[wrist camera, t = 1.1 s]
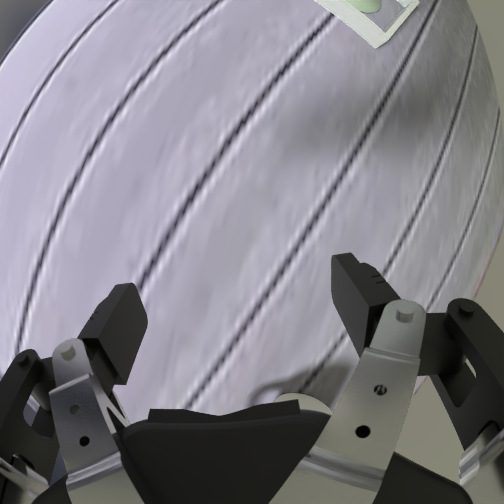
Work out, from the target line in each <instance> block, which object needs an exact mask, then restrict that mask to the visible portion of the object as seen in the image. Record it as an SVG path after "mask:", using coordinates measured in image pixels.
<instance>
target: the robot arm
mask: <svg viewBox="0 0 504 504" xmlns="http://www.w3.org/2000/svg"><path fill="white" fill-rule="evenodd" d="M331 292H332V299H333V303H334V305H335V307H336V309H337V311H338V313H339V315H340V317H341V319H342V322H343V324H344V326H345V328H346V330H347V332H348V334H349V336H350V338H351V340H352V342H353V345H354V347H355V349H356V351H357V353H358V355H359V358H360V360H359V362H358V365H357V367H356V369H355V371H354V373H353V375H352V377H351V379H350V381H349V383H348V385H347V387H346V389H345V391H344V393H343V395H342V397H341V399H340V401H339V403H338V405H337V407H336V408H335V410H334V412H333V414H332V415H330V414H327V413H323V412H319V411H314V410H306V409H300V406H299V401H298V399H295V400H288V401H282V402H275V403H267V404H259V405H256V406H253V407H250V408H247V409H244V410H240V411H237V412H233V413H230V414H226V415H222V416H216V415H210V414H205V413H199V412H194V411H189V410H184V409H150V411H149V415H148V419H146V420H142V421H139V422H136V423H134V424H131V423H130V421H129V420H128V418H127V416H126V414H125V412H124V410H123V408H122V406H121V404H120V402H119V399H118V397H117V395H116V393H115V392H114V390H113V386H114V385H126V383H127V381H128V378H129V375H130V372H131V369H132V366H133V364H134V361H135V358H136V355H137V353H138V350H139V347H140V345H141V342H142V339H143V337H144V334H145V332H146V329H147V325H148V320H147V314H146V311H145V309H144V306H143V304H142V301H141V299H140V296H139V293H138V291H137V288H136V286H135V284H134V283H125V284H117V285H115V286H114V288H113V289H112V291H111V292H110V294H109V295H108V297H107V298H105V299H104V300H103V301H102V302H101V303H100V304H99V305H98V306H97V308H96V309H95V311H94V313H93V314H92V315H91V317H90V320H88V321H87V323H86V325H85V326H84V328H83V329H82V331H81V333H80V334H79V336H78V337H77V339H76V338H73V339H69V340H66V341H64V342H62V343H61V344H60V345H58V346H57V347H56V349H55V350H54V352H53V354H52V357H49V358H45V359H40V357H39V356H38V354H37V352H36V351H35V350H33V349H27V350H24V351H22V352H21V353H19V354H18V355H17V356H16V357H15V358H14V360H13V361H12V363H11V365H10V366H9V368H8V369H7V371H6V373H5V374H4V376H3V378H2V380H1V381H0V504H504V333H503V331H502V330H501V329H500V328H499V327H498V326H497V324H496V323H495V322H494V321H493V320H492V319H491V317H490V316H489V315H488V314H487V313H486V312H485V311H484V310H483V309H482V307H481V306H479V305H478V304H477V303H476V302H474V301H472V300H469V299H464V298H458V299H454V300H452V301H451V302H450V303H449V304H448V307H447V311H446V313H426V312H425V310H424V308H423V307H422V306H421V305H420V304H418V303H416V302H414V301H411V300H405V299H401V298H400V297H399V296H398V294H397V293H396V292H395V291H394V290H393V288H392V287H391V286H390V285H389V284H388V282H386V280H385V279H384V278H383V277H382V276H381V274H380V273H379V272H378V271H377V270H376V268H374V267H373V266H371V265H369V264H367V263H359V261H358V260H357V259H356V258H355V256H354V255H353V254H352V253H344V254H337V255H333V256H332V259H331ZM466 359H468V360H469V362H470V363H471V365H472V366H473V368H474V370H475V372H476V378H475V376H474V374H473V373H472V371H471V370H470V368H469V367H468V365H467V364H466V362H465V361H466ZM426 375H429V376H430V378H431V380H432V382H433V384H434V386H435V388H436V390H437V392H438V394H439V396H440V398H441V400H442V402H443V404H444V406H445V408H446V410H447V412H448V414H449V417H450V419H451V421H452V423H453V425H454V427H455V430H456V432H457V434H458V437H459V439H460V441H461V444H462V446H463V448H464V453H463V454H462V457H461V459H460V465H459V469H460V472H459V477H460V479H461V480H460V484H457V483H456V482H454V481H451V480H449V479H447V478H445V477H443V476H440V475H439V474H436V473H435V472H432V471H430V470H428V469H426V468H424V467H423V466H420V465H419V464H417V463H415V462H413V461H411V460H409V459H407V458H405V457H404V456H402V455H400V454H398V453H396V452H395V451H394V449H395V447H396V444H397V441H398V439H399V436H400V433H401V430H402V427H403V424H404V421H405V418H406V415H407V412H408V408H409V405H410V401H411V398H412V394H413V391H414V387H415V383H416V379H417V376H426ZM30 395H32V396H33V398H34V399H35V400H36V401H37V402H38V403H39V405H40V407H39V409H38V412H37V414H36V416H35V419H34V421H33V424H32V426H31V427H30V426H29V425H28V424H27V423H26V421H25V419H24V416H23V410H24V407H25V405H26V403H27V401H28V399H29V397H30ZM59 448H60V449H61V452H62V456H63V459H64V463H65V466H66V469H67V472H68V473H67V474H66V475H65V476H63V477H62V478H61V479H60V480H58V481H57V482H56V483H54V484H53V485H52V486H51V487H49V484H50V480H51V476H52V472H53V469H54V465H55V461H56V458H57V454H58V451H59Z"/></svg>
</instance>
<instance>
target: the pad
mask: <svg viewBox="0 0 504 504" xmlns="http://www.w3.org/2000/svg"><path fill="white" fill-rule="evenodd" d="M346 1H347V2H349V3H350V4H351V5H353V6H354V7H355V8H356V9H358V10H359V11H360V12H362V13H375V12H377V11H378V10H379V9H380V7H381V0H346Z"/></svg>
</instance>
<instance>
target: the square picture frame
mask: <svg viewBox="0 0 504 504" xmlns="http://www.w3.org/2000/svg"><path fill="white" fill-rule="evenodd" d="M314 1H316V2H317V3H319V4H320V5H321V6H323V7H324V8H326V9H327V10H328V11H330V12H331V13H333V14H334V15H335V16H337V17H338V18H339V19H340V20H342V21H343V22H344V23H346V24H347V25H348V26H349V27H351V28H352V29H353V30H354V31H355V32H357V33H358V34H359V35H360V36H361V37H362V38H364V39H365V40H366V41H367V42H368V43H369V44H370V45H371V46H373V47H374V48H375V49H376V48H378V47H379V46H380V45H382V44H383V43H385V42H386V41H388V40H389V39H390V37H391V36H392V35H393V34H394V32H395V31H396V30H397V29H398V28H399V26H400V25H401V24H402V23H403V22H404V20H405V19H406V18H407V17H408V16H409V14H410V13H411V12H412V11H413V10H414V8H415V7H416V6H417V5H418V4H419V1H418V0H397V1H398V2H399V3H400V4H401V5H402V6H403V7H404V8H403V9H402V10H401V11H400V12H399V14H398V15H397V16H396V17H395V18H394V19H393V20H392V21H391V22H390V24H389V25H388V26H387V27H386V28H385V29H384V30H383V31H382V30H381V29H380V28H379V27H378V26H377V25H376V24H374V23H373V22H372V21H371V20H370V19H369V18H367V17H366V16H365V15H364V14H363V13H361V12H360V11H359V10H358V9H356V8H355V7H354V6H353V5H351V4H350V3H349V2H347V1H346V0H314Z"/></svg>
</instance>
